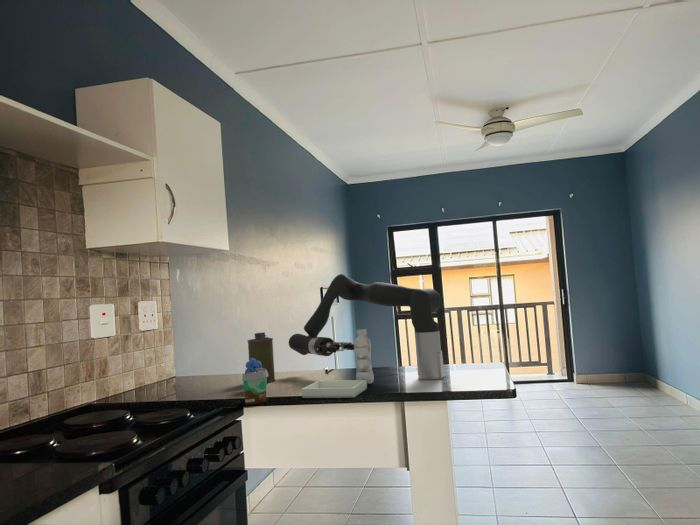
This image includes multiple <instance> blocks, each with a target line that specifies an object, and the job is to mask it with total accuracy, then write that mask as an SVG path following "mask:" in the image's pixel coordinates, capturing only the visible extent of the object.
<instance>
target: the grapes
mask: <svg viewBox="0 0 700 525" xmlns="http://www.w3.org/2000/svg"><path fill="white" fill-rule="evenodd" d="M261 366H262V364H261V362H260V361H258V360H257V361H256V360H255V359H254V358H251V359H250V361H249V360H248V361H247V362H246V363H245V367H246V368H245V371H244V374H248V373H251V372H255V371H256V369H264V368H262V367H261Z"/></svg>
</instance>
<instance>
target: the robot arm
mask: <svg viewBox="0 0 700 525" xmlns="http://www.w3.org/2000/svg"><path fill="white" fill-rule="evenodd" d="M338 297H340V298H341V299H343V300H347V301H360V302H366V303H369V304H374V305H378V306H384V307H409V311H410V319H411V324H412V327H413V328H414V339H415V352H416V365H417V366H416V367H417V375H418V376H417V377H418V379H419V380H439V379H440V380H441V379H443V378H444V377H445V372H444V371H445V370H444V359H443V357H444V356H443V351H442V347H441V333H440V325H439V323H438V322H437V321H435V320H434V318H433V313H434V312H436V311H438V310H439V309H440V308H441V306H442V303H443V299H442V297H441V295H440V293H439V292H438V291H436V290H435V289H433V288H411V287H407V286H404V285H398V284H393V283H389V282H383V281H376V282H372V283H369V284H365V283H360V282H357V281H355V280H354V279H352V278H350V277H349V276H347V275H346V274H345V273H340V274H338V275H336V276H335V277H333V279H332V281H331V282H330V284H329V286H328V288H327V290H326V291H325V294H324V296H323V297H322V299H321V301H320V302H319V305H318V306H317V307H316V310H315V311H314V312H313V314H312V315H311V316H310V318H309V319H308V321H307V322H306V323H305V325H304V326H303V330H304V332H305V333H306V334H307V335H306V334H302V333H295V334H293V335H291V336H290V337H289V339H288V346H289V348H290V349H291V350H293V351H295V352H296V353H299V354H300V355H302V356H306V355H309V354H310V355H315V356H320V357H322V356H323V357H330V356H331V355H332V354H334V353H338V352H343V351H346V350H347V351H355V350H354V343H352V342H347V341H346V342H344V341H334V340H333V339H332V338H331V337H326V336H325V337H324V336H319V334H320V333H321V331H322V330H323V329H324V327H325V326H326V325H327V323H328V321H329V317H330V312H331V309H332V306H333V304H334V302H335V300H336V299H337V298H338Z"/></svg>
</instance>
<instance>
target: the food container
mask: <svg viewBox="0 0 700 525" xmlns="http://www.w3.org/2000/svg"><path fill="white" fill-rule="evenodd" d="M268 376H269V375H268V372H267V370H266V369H256V371H255V372H251V373H248V374H245V373H242V377H241V378H242V382H243V383H242V384H243V392H244V404H245V406H247V405H256V404H261V403H265V402H267V384H268V383H267V377H268Z"/></svg>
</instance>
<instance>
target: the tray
mask: <svg viewBox="0 0 700 525" xmlns="http://www.w3.org/2000/svg"><path fill="white" fill-rule="evenodd" d="M366 390H368V384H367V381H366V380H356V379H352V380H351V379H349V380H347V379H345V380H338V379H337V380H317V381H315V382H312V383H311V384H308V385H306V386H305V387H302V388H301V398H302V399H313V398H314V399H318V398H319V399H323V398H324V399H329V398H330V399H331V398H332V399H334V398H335V399H337V398H338V399H342V398H343V399H345V398H346V399H351V398H354V399H355V398H356V397H357V396H358V395H360V394H362V393H363V392H365V391H366Z"/></svg>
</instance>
